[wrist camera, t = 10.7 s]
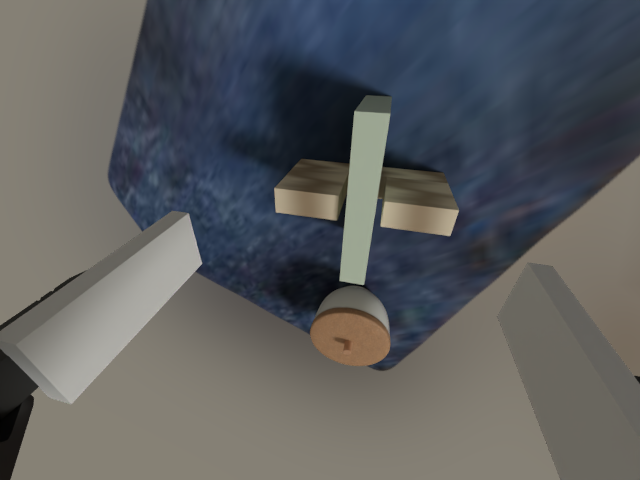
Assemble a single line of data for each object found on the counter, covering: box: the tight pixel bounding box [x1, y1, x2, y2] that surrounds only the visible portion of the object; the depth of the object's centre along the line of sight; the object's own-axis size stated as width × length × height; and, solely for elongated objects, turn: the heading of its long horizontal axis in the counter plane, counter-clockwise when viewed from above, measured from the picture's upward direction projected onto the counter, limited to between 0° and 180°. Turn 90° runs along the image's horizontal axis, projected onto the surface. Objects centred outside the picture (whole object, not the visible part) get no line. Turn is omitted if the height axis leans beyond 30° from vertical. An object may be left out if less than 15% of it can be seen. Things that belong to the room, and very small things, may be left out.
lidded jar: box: [310, 286, 390, 366], centre depth 40 cm, size 11×11×9 cm
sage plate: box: [340, 95, 392, 285], centre depth 28 cm, size 16×2×10 cm, turn 178°
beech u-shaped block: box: [274, 159, 459, 236], centre depth 29 cm, size 16×2×9 cm, turn 88°
